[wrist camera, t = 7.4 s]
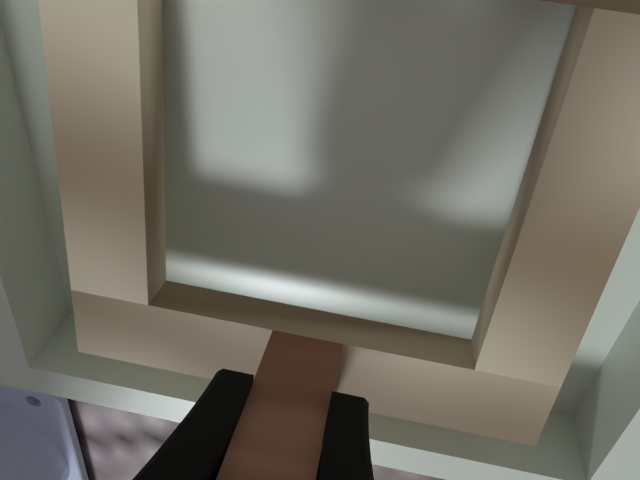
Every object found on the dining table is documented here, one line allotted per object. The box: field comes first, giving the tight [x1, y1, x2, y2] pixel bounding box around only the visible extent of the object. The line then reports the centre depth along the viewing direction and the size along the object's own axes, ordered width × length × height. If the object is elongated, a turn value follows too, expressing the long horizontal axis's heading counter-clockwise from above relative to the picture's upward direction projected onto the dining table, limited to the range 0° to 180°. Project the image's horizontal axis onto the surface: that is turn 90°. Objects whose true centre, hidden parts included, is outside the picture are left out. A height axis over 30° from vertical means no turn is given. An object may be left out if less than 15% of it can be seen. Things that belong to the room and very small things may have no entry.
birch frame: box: [38, 0, 640, 480], centre depth 9 cm, size 10×10×5 cm
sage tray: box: [0, 0, 640, 480], centre depth 11 cm, size 16×16×2 cm
